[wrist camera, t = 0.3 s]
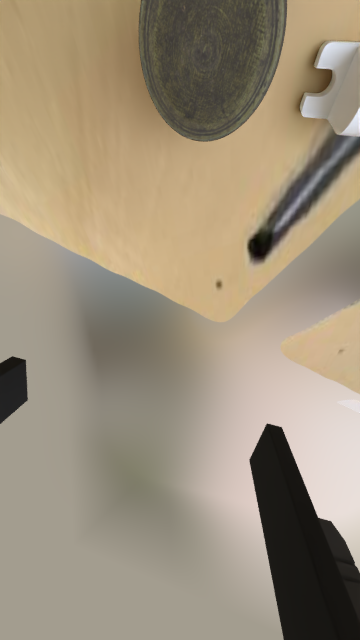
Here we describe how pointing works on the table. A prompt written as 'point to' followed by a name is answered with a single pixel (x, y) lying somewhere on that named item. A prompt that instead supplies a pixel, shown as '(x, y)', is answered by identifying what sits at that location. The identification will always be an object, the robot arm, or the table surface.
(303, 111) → the cable organizer
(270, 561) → the robot arm
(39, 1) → the table surface
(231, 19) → the container
